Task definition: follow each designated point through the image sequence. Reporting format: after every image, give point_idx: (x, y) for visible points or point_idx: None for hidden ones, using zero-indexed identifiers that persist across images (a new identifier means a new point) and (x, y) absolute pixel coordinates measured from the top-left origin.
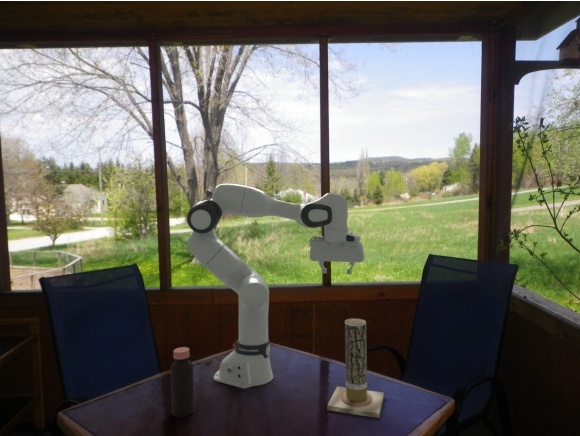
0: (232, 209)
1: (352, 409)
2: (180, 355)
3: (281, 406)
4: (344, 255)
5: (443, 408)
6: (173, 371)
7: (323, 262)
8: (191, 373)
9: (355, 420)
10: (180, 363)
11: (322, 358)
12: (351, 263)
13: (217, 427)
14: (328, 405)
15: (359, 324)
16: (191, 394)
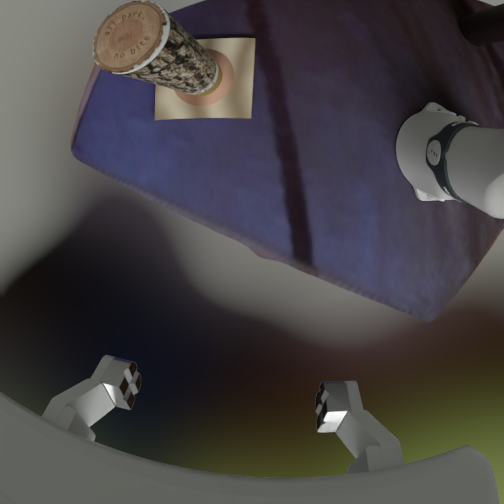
0: None
1: (205, 39)
2: None
3: (345, 40)
4: (74, 498)
5: (76, 120)
6: None
7: (352, 469)
8: (496, 13)
9: (199, 26)
10: None
11: (310, 272)
12: (59, 415)
13: None
14: (252, 38)
15: (113, 14)
16: (476, 18)
